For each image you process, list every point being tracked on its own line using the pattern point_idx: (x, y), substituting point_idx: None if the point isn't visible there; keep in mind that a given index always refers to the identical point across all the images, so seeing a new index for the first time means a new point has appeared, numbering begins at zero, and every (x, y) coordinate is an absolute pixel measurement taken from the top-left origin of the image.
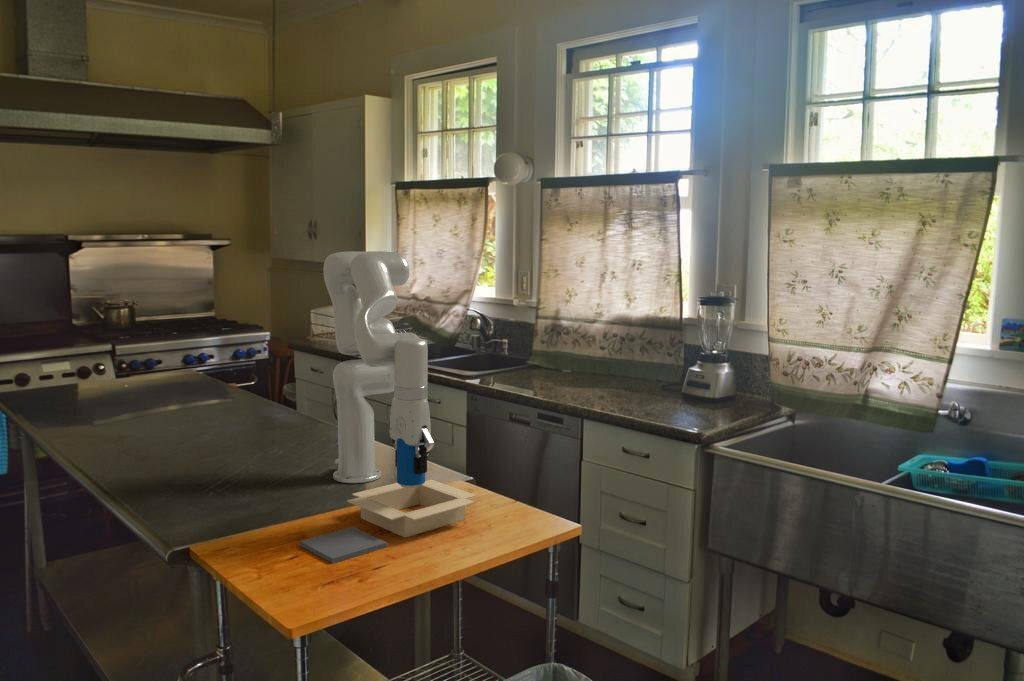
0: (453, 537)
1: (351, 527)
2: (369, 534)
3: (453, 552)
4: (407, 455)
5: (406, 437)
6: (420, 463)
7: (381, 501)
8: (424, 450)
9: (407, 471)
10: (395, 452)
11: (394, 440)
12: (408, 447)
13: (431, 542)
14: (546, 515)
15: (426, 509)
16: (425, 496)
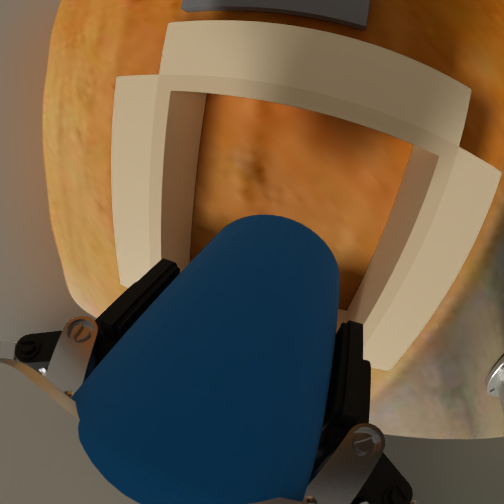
0: None
1: (363, 19)
2: (265, 7)
3: (78, 106)
4: (138, 330)
5: (25, 455)
6: (112, 303)
7: (406, 211)
8: (24, 340)
9: (204, 257)
10: (359, 401)
11: (384, 489)
12: (90, 384)
13: None
14: None
15: (147, 163)
16: None
